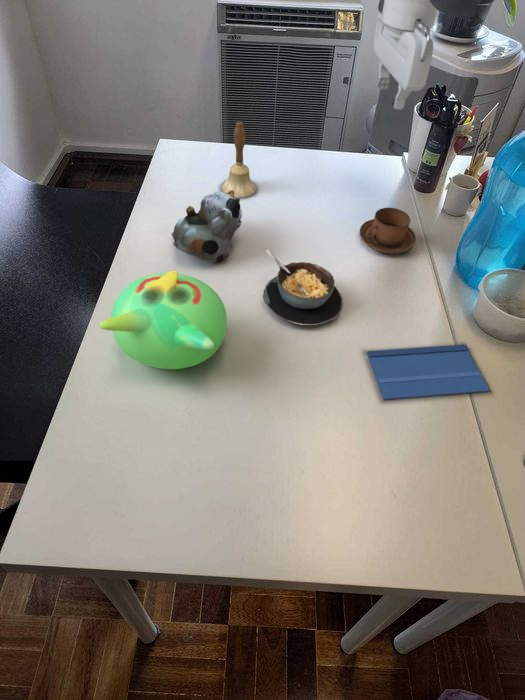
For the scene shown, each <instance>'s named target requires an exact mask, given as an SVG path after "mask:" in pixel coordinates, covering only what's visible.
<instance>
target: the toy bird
mask: <svg viewBox="0 0 525 700" xmlns="http://www.w3.org/2000/svg"><path fill="white" fill-rule="evenodd" d="M110 315H111V316H110V317H109V318H108V319H105V320H103V321H101V323H100V324H99V327H100V329H102V330H105V331H111V332H112V335H113V338H114V340H115V343H116V344H117V346H118V347H119V348H120V349H121V351H123V353H125V354H126V355H127V356H128V357H129V358H131V359H132V360H134V361H136V362H137V363H140V364H142V365H145V366H149V367H153V368H157V369H162V370H179V369H186V368H190V367H195V366H197V365H199V364H201V363H203V362H205V361H206V360H208V359H210V358H211V357H212V356H213V355H214V354H215V353H216V352H217V351H218V350H219V348H220V347H221V345H222V343H223V341H224V340H225V336H226V333H227V328H228V315H227V310H226V306H225V305H224V302H223V300H222V298H221V297H220V296H219V293H217V292H216V290H215V289H213V288H212V287H211V286H210V285H208V283H205V282H204V281H202V280H200V279H198V278H195V277H192V276H189V275H185V274H182V273H179V272H178V271H177V270H171V271H169V272H163V273H162V272H160V273H153V274H149V275H146V276H143V277H140V278H138V279H136V280H134V281H132V282H130V284H128V285H127V286H126V287H125V288H124V289H122V291H121V292H120V294H119V295H118V296H117V298H116V299H115V302H114V304H113V306H112V310H111V314H110Z"/></svg>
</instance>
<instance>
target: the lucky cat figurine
mask: <svg viewBox="0 0 525 700" xmlns="http://www.w3.org/2000/svg"><path fill="white" fill-rule="evenodd" d="M240 201H241V198H234V191H233V190H231V191H229V192H228V193H225V192H223V191H214V192H212V193H209V194H207V195H206V196H204V197H203V198H202V199H201V201H200V206H199V207H200V208H199V210H198V212H196V210H195V208H194V206H191V205H189V206H187V208H185V210H186V216H185V217H182V218H179V220H177V222H176V224H175V226H174V228H173V231H172V232H171V234H170V235H171V237H172V238H173V240H174V243H173V246H174V247H175V248H176V249H177V250H179V251H181V252H184V253H185V254H188V255H191V256H195V257H198V258H200V259H202V260H203V261H207V262H211V263H217V262H222V261H225V260H226V259H227V258H228V257H229V253H230V251H231V246H232V239H233V236H234V235H235V233H236V232H237V230H238V229H239V228H240V227H241V225H242V220H241V219H242V217H243V210H242V208H241V204H240Z"/></svg>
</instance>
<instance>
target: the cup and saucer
mask: <svg viewBox="0 0 525 700" xmlns="http://www.w3.org/2000/svg"><path fill="white" fill-rule="evenodd" d="M374 213H375V214H374V218H372V219H369V220H366V221H365V222H363V224H361V226H360V228H359V236H360V239H361V240H362V242H363V243H365V244H366V246H367V247H369V248H370V249H372V250H374V251H376V252H379V253H383V254H391V255H393V254H401V253H405V252H407V251H409V250H411V249H412V247H413V246H414V245H415V244H416V240H417V237H416V234H415V232H414V231H413V230H412V228H410V227H409V226H410V223H411V218H410V215H409V214H408V213H407V212H405V211H403V210H402V209H399V208H395V207H383V208H379V209H378V210H376V212H374Z"/></svg>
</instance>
